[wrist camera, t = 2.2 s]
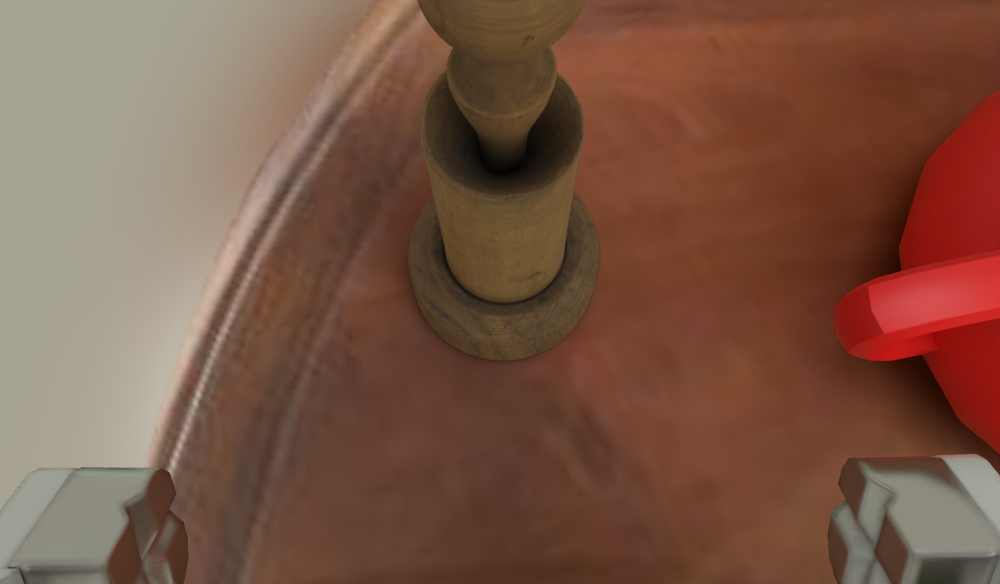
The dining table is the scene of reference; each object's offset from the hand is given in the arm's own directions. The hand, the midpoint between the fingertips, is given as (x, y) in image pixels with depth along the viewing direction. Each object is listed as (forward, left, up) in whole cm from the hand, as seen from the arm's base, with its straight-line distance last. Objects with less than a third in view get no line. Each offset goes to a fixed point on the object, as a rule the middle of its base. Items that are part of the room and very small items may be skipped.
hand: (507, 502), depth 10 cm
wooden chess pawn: (+3, +8, -18) cm, 20 cm away
